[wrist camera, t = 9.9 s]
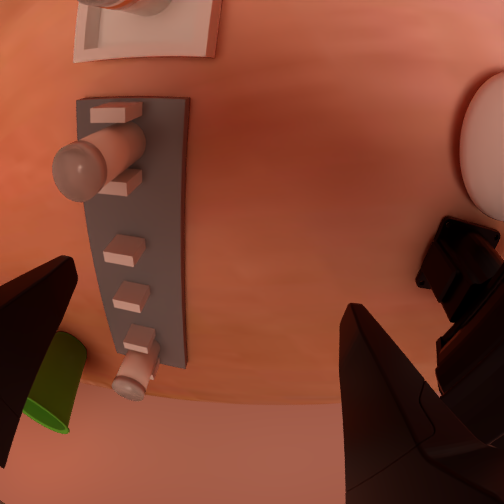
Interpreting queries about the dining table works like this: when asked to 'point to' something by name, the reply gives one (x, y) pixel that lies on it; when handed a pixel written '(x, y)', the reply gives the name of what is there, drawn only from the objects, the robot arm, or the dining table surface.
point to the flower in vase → (485, 148)
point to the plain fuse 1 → (97, 160)
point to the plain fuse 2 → (135, 373)
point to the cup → (57, 383)
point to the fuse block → (142, 226)
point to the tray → (147, 32)
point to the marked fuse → (131, 5)
